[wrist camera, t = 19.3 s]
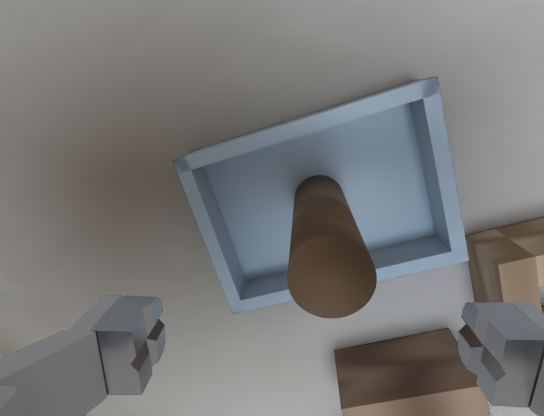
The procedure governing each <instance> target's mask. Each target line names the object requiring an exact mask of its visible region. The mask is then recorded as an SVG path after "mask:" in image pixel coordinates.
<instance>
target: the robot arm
mask: <svg viewBox="0 0 544 416" xmlns="http://www.w3.org/2000/svg"><path fill="white" fill-rule="evenodd" d="M162 312H163V308H162V302H161V300H160V298H159V297H146V296H122V295H106V296H102V297H101V298H100V299H99V300H98V301H97V302H96V303H95V304H94V305H93V306H92V307H91V308H90V309H89V310H88V311H87V312H86V313H85V314H84V315H83V316H82V317H81V318H80V319H79V320H78V321H77V322H76V323H75V324H74V325H73V326H72V327H71V328H70V329H69V330H68V331H60V332H58V333H56V334H54V335H51V336H49V337H47V338H45V339H43V340H40V341H38V342H36V343H34V344H32V345H29V346H27V347H25V348H23V349H21V350H18V351H16V352H14V353H12V354H10V355H7V356H5V357H3V358H1V359H0V416H84V415H86V414H87V413H88V412H89V411H91V410H92V409H93V408H94V407H95V406H97V405H98V404H99V403H100V402H102V401H103V400H104V399H105V398H106V397H107V395H142V393H143V391H144V389H145V387H146V386H147V384H148V382H149V380H150V378H151V376H152V368H151V366H153V365H154V364H155V363H157V362H158V361H159V360H160V357H161V355H162V353H163V349H164V345H165V325H164V324H163V323H162V322H161V321H160V320H159V317H160V315H161V314H162ZM462 318H463V320H464V321H465V323H466V325H465V326H464V327H463V328H462V329H461V330H460V331H459V334H458V342H457V343H458V350H459V355H460V357H461V360H462V362H463V364H464V365H465V367H466V368H467V369H468V370H469V371H471V372H472V373H474V374H475V375H477V376H478V377H477V382H476V383H477V385H478V386H479V388H480V389H481V391H482V392H483V394H484V395H485V397H486V398H487V400H488V401H489V403H490V404H491V405H492V406H509V407H526V408H530V410H531V411H532V412H534V413H535V414H536V415H538V416H544V313H543V312H542V311H541V310H539V309H538V308H537V307H536V306H535V305H533V304H531V303H528V302H494V303H466V304H465V306H464V308H463V311H462Z"/></svg>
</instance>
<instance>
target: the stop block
mask: <svg viewBox="0 0 544 416" xmlns="http://www.w3.org/2000/svg"><path fill="white" fill-rule="evenodd" d="M334 353H335V361H336V369H337V377H338V386H339V394H340V402H341V409H342V413H343V416H490V412H489V406H488V401H487V398H486V397H485V395H484V394H483V392H482V391H481V389H480V388H479V386H478V385H477V383H476V382H477V377H478V376H477V375H475V374H474V373H472V372H471V371H469V370H468V369H467V368H466V367H465V365H464V364H463V362H462V360H461V357H460V355H459V350H458V343H457V341H456V339H455V338H454V336H453V335H452V333H451V332H450V330H449V328H447V329H442V330H437V331H432V332H427V333H422V334H416V335H411V336H406V337H401V338H396V339H391V340H386V341H381V342H376V343H371V344H366V345H361V346H355V347H350V348H345V349H340V350H335V351H334Z"/></svg>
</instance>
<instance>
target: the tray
mask: <svg viewBox="0 0 544 416" xmlns="http://www.w3.org/2000/svg"><path fill="white" fill-rule="evenodd" d="M172 161H173V163H174V166H175V169H176V171H177V174H178V176H179V179H180V181H181V184H182V186H183V189H184V192H185V194H186V197H187V199H188V202H189V204H190V207H191V209H192V212H193V214H194V217H195V220H196V222H197V225H198V227H199V230H200V232H201V235H202V237H203V240H204V243H205V245H206V248H207V250H208V253H209V255H210V258H211V260H212V263H213V266H214V268H215V271H216V273H217V276H218V278H219V281H220V283H221V286H222V289H223V291H224V294H225V296H226V299H227V301H228V304H229V306H230V309H231V312H232V314H236V313H241V312H245V311H250V310H254V309H259V308H263V307H267V306H272V305H276V304H281V303H285V302H290V301H294V299H293V298H292V296H291V294H290V291H289V289H288V284H287V274H288V263H289V252H290V241H291V230H292V219H293V208H294V197H295V192H296V189H297V187H298V186H299V185H300V183H301V182H302V181H304V180H305V179H307V178H309V177H311V176H315V175H324V176H328V177H330V178H332V179H334V180H335V181H336V182H337V183H338V184H339V185H340V187H341V189H342V191H343V193H344V196H345V198H346V201H347V203H348V205H349V208H350V210H351V212H352V215H353V217H354V219H355V222H356V224H357V226H358V229H359V231H360V233H361V236H362V238H363V240H364V243H365V245H366V247H367V250H368V252H369V254H370V257H371V259H372V261H373V264H374V266H375V269H376V275H377V282H378V281H382V280H387V279H391V278H396V277H400V276H404V275H409V274H413V273H418V272H422V271H427V270H431V269H435V268H440V267H444V266H449V265H453V264H458V263H462V262H466V261H469V257H468V251H467V245H466V240H465V234H464V228H463V222H462V217H461V211H460V205H459V199H458V193H457V188H456V182H455V176H454V170H453V164H452V159H451V153H450V147H449V141H448V135H447V130H446V124H445V118H444V112H443V107H442V101H441V95H440V89H439V83H438V78H437V76H436V77H431V78H425V79H420V80H416V81H413V82H409V83H406V84H403V85H400V86H397V87H394V88H391V89H387V90H384V91H381V92H378V93H375V94H372V95H369V96H365V97H362V98H359V99H356V100H353V101H350V102H347V103H343V104H340V105H337V106H334V107H331V108H328V109H324V110H321V111H318V112H315V113H312V114H309V115H306V116H302V117H299V118H296V119H293V120H290V121H287V122H284V123H280V124H277V125H274V126H271V127H268V128H265V129H262V130H258V131H255V132H252V133H249V134H246V135H243V136H240V137H236V138H233V139H230V140H227V141H224V142H221V143H218V144H214V145H211V146H208V147H205V148H202V149H199V150H196V151H192V152H189V153H187V154H185V155H183V156H180V157H178V158H176V159H174V160H172Z"/></svg>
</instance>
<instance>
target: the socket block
mask: <svg viewBox="0 0 544 416" xmlns="http://www.w3.org/2000/svg"><path fill="white" fill-rule="evenodd" d="M465 240H466V245H467V251H468V257H469V261H468V262H469V268H470V273H471V279H472V285H473V291H474V297H475V302H476V303H494V302H528V303H531V304H533V305H535V306H536V307H537V308H538V309H539V310H541V311H542V312H543V313H544V306H541V299H540V290H539V287H541V286H544V217H542V218H538V219H534V220H529V221H525V222H521V223H517V224H513V225H508V226H504V227H500V228H496V229H492V230H487V231H483V232H479V233H475V234H471V235H466V236H465Z"/></svg>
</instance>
